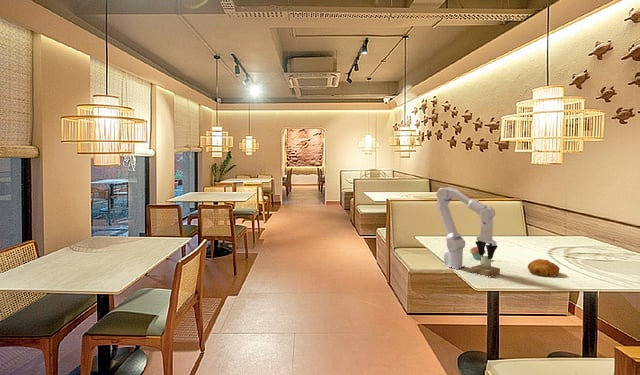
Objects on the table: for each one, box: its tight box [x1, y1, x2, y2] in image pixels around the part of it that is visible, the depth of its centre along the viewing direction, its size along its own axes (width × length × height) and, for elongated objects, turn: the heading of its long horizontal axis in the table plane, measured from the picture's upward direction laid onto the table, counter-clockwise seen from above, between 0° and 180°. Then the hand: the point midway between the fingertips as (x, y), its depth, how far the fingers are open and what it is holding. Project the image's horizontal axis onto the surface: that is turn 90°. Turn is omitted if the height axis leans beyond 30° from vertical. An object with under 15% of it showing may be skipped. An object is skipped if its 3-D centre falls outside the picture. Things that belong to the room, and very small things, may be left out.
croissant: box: [527, 258, 561, 278], centre depth 217 cm, size 14×16×8 cm
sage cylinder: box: [480, 255, 492, 269], centre depth 216 cm, size 5×5×6 cm
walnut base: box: [470, 264, 501, 278], centre depth 217 cm, size 10×10×3 cm
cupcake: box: [469, 246, 486, 260], centre depth 247 cm, size 9×8×12 cm
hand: (485, 256), depth 216 cm, fingers open, 7 cm apart
